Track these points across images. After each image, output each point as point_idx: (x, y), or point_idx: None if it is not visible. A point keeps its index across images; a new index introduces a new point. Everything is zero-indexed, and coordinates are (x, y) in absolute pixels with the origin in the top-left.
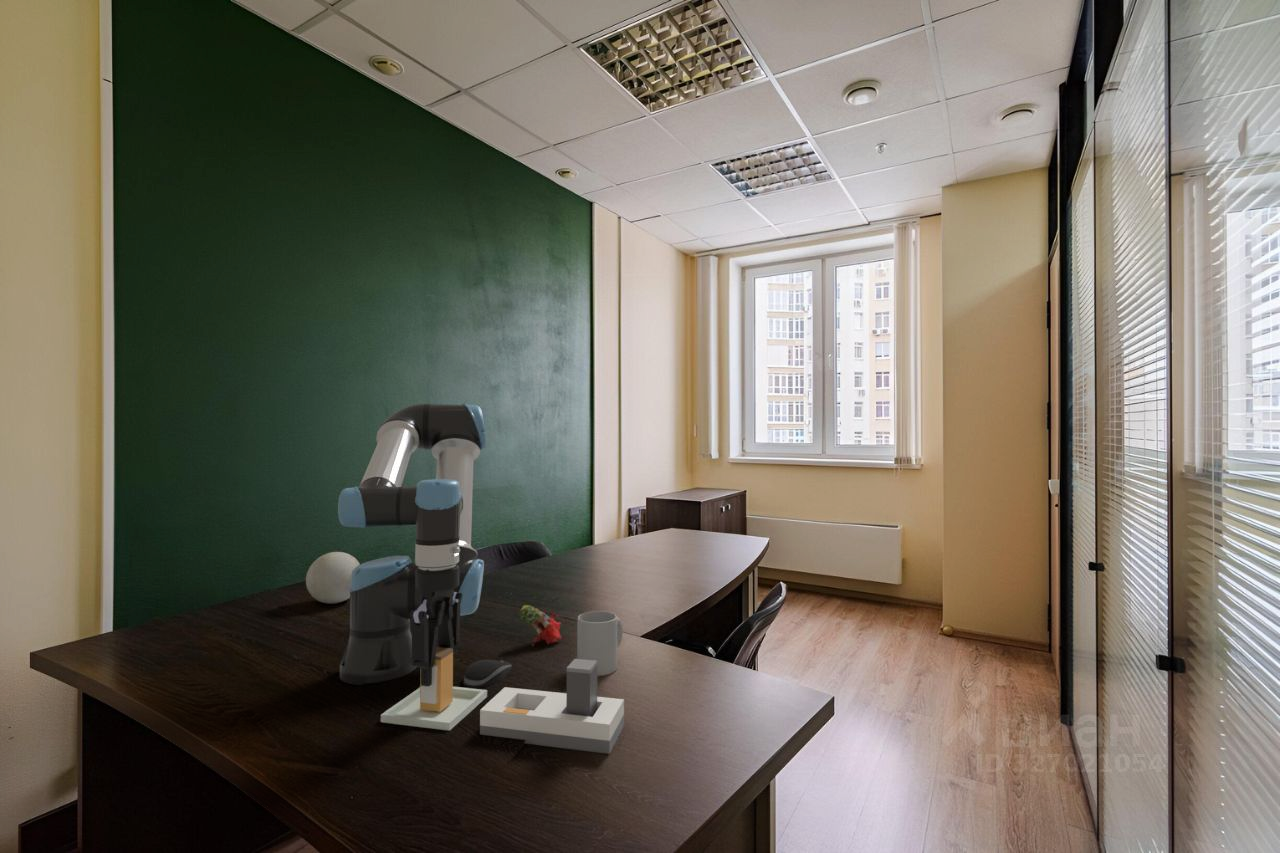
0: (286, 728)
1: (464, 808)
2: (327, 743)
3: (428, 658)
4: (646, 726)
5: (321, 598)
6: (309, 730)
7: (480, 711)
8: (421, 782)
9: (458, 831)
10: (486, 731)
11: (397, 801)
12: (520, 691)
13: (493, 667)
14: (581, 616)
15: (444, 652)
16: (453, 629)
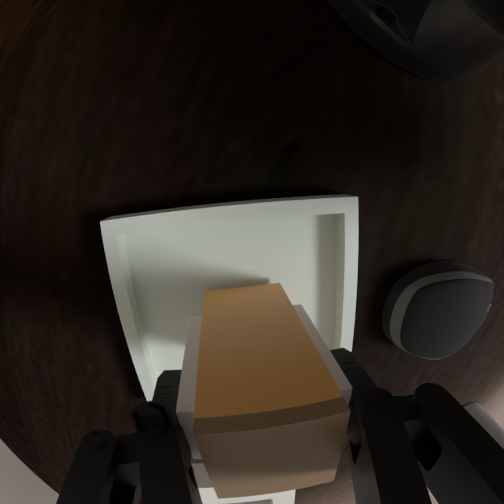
0: (54, 13)
1: (51, 465)
2: (13, 162)
3: (137, 500)
4: None
5: None
6: (49, 62)
7: None
8: (39, 418)
9: (33, 465)
10: None
11: (5, 406)
12: (281, 498)
13: (441, 355)
14: None
15: (275, 487)
16: (441, 485)
